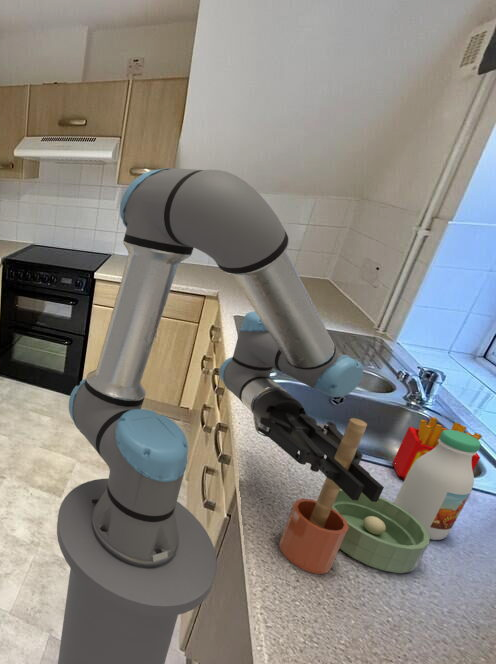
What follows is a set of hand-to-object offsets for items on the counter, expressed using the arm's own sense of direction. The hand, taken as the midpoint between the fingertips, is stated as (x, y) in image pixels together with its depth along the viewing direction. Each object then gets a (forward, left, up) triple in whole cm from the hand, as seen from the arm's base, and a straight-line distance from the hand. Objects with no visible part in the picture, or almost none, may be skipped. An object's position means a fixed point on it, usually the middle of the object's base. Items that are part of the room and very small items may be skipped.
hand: (367, 493), depth 60 cm
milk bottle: (+18, +24, -19) cm, 35 cm away
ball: (+9, +17, -17) cm, 25 cm away
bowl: (+8, +14, -19) cm, 25 cm away
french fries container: (+24, +41, -19) cm, 51 cm away
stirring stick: (-2, +5, -16) cm, 16 cm away
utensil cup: (-2, +5, -19) cm, 20 cm away
